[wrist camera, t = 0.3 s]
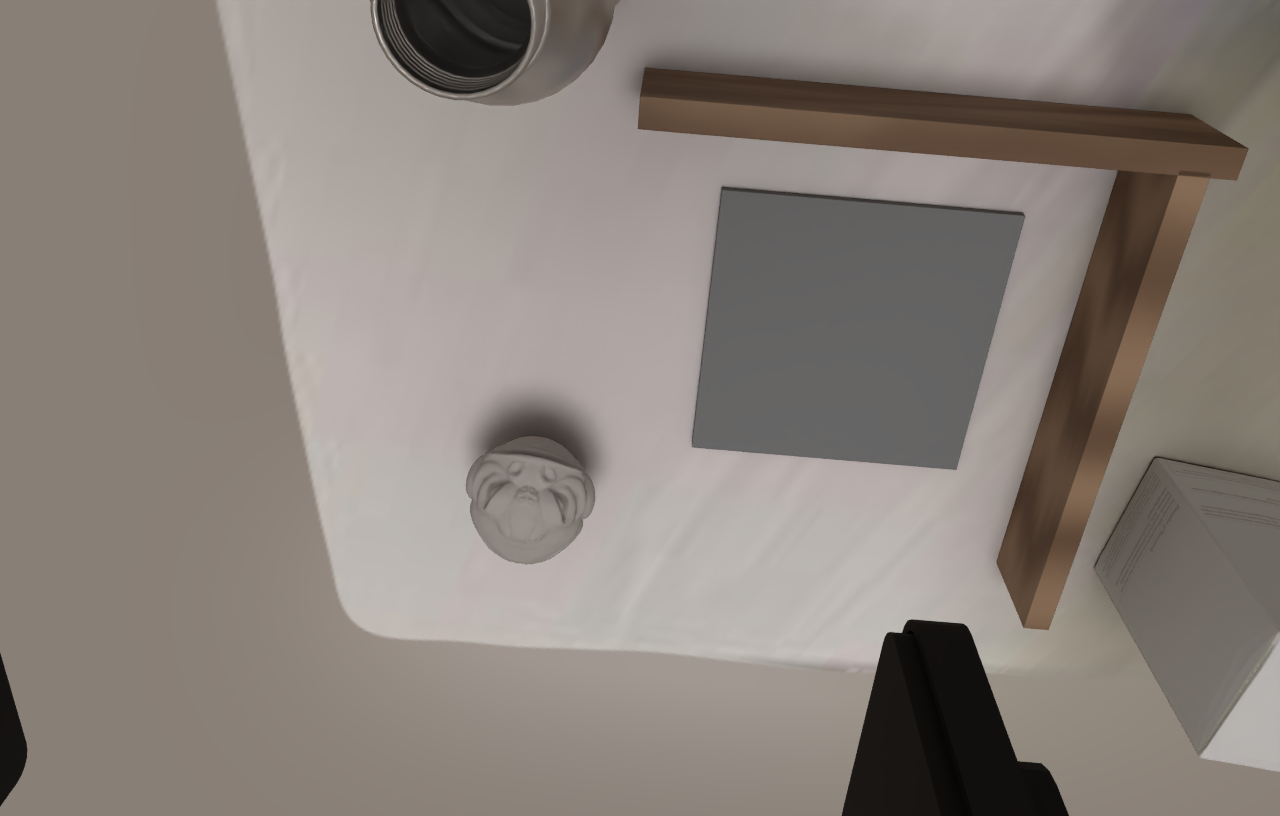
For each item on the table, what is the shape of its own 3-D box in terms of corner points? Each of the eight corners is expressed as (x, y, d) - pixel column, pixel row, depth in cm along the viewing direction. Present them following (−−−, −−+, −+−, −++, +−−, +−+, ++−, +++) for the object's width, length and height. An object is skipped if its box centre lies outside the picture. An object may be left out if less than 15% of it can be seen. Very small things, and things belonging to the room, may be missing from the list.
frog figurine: (611, 407, 50) (600, 488, 44) (587, 521, 54) (574, 611, 48) (487, 383, 50) (459, 462, 44) (471, 500, 53) (443, 588, 47)
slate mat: (722, 187, 45) (722, 189, 44) (1022, 212, 45) (1025, 216, 44) (692, 443, 51) (692, 447, 51) (954, 465, 51) (956, 469, 51)
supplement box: (1088, 568, 54) (1191, 760, 43) (1154, 451, 50) (1283, 628, 39) (1221, 596, 55) (1355, 792, 44) (1295, 482, 51) (1462, 665, 40)
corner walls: (644, 67, 42) (640, 96, 38) (1191, 114, 42) (1248, 148, 38) (610, 530, 54) (603, 592, 50) (1038, 566, 54) (1069, 631, 50)
